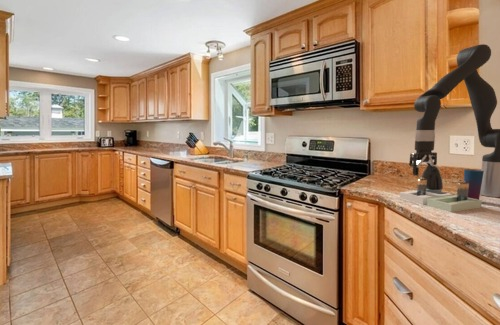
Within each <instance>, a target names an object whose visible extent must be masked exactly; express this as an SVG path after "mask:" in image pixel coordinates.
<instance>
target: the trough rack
mask: <svg viewBox="0 0 500 325" xmlns="http://www.w3.org/2000/svg"><path fill="white" fill-rule="evenodd" d="M482 200H483V199H479V200H478V199H473V198H468V200H465V201H458V202H457V194H455V195H452V196H446V197H438V198H431V199H427V204H426V206H427V207H429V208H434V209H437V210H438V209H439V210H442V211H445V212H449V213H454V212H461V211H466V210H473V209H478V208H482Z"/></svg>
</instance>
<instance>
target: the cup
mask: <svg viewBox="0 0 500 325" xmlns="http://www.w3.org/2000/svg"><path fill="white" fill-rule="evenodd" d="M483 173H484V171H483V170H482V169H475V168H465V169H463V181H466V182H467V183H469V189H468V198H473V199H478V200H480V197H481V194H480V191H481V185H482V179H483Z"/></svg>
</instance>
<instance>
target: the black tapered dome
mask: <svg viewBox="0 0 500 325" xmlns="http://www.w3.org/2000/svg"><path fill="white" fill-rule="evenodd" d="M426 172H427V167H425V169H424V171H422V175H421V177H420V178H424V179H427V187H426V189H431V190H436V191H441V192H443V189H444V183H443V177H442V174H441V172H440V170H439V168H438V167H437V165H434V166H433V170H432V174H431V175H430V174H427V173H426Z"/></svg>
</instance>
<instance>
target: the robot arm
mask: <svg viewBox="0 0 500 325" xmlns="http://www.w3.org/2000/svg"><path fill="white" fill-rule="evenodd" d="M491 56H492V50H491V48H490V46H489V45H487V44H484V43H483V44H477V45H473V46H469V47H467V48H463V49H461V50H459V52H457V55H456V64H457V67H456V68H454V69H453V70H451V71H450V72H448V73H446V74H445V75H444V76H442V77H441V78H440V79H439V80H438V81H437V82H436V83H435V84H434V85H433V86H432V87H431V88H430V89H428V90H426V91H425V92H423V93H422V94H421V95H419V97H418V98H417V99H416V100H415V102H414V104H413V108H414V110H415V111H416V112H418V113H423V115H422V116H421V117H418V118H417V119H416V132H415V137H414V139H415V140H414V151H416V152H410V154H409V163H408V164H409V166H410V167H412V175H413V176H414V177H415V176H419V169H420V165H422V164H423V163H425V164H426V168H427V172H426V173H427V174H430V175H431V174H432V170H433V166H437V163H438V158H437V157H438V153H437V152H435V151H434V150H435V142H436V140H435V139H436V138H435V137H436V132H435V130H436V129H435V128H436V121H437V118H438V115H439V112H440V110H441V105H442V102H441V100H442V99H444V98H446V97H447V96H448V95H449V94H450V93H451V92H452V91H453V90H454V89H455V88H456V87H457V86H459V84H460V83H461V82H464V84H465V87H466V90H467V93H468V97H469V102H470V104H471V108H472V111H473V114H474V118H475V122H476V127H477V136H478V140H479V143H480V145H481V146H482V147H484V148H493V149H494V150H493V151H492V152H491V153H488V154H484V155H482V157H481V158H482V159H481V170H483V171H484V173H483V179H482V185H481V191H480V196H485V197H491V198H500V128H493V127H492V125H491V117H492V116H493V114H494V112H495V110H496V108H497V105H498V97H497V96H496V92H495V91H496V90H495V89H494V88H493V86H492V85H491V84H490V83H488V81H486V80H485V79H484V78H483V77H482V76H481V75H480V74H479V72H478V69H480V68H481V67H483V66H484V65H485V64H486V63H488V61H489V60H490V58H491ZM433 151H434V152H433ZM409 166H408V167H409Z"/></svg>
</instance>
